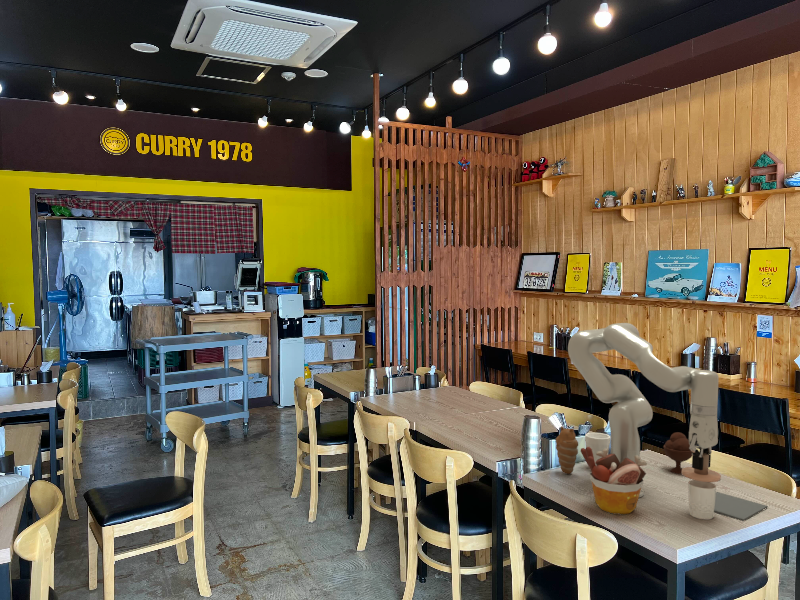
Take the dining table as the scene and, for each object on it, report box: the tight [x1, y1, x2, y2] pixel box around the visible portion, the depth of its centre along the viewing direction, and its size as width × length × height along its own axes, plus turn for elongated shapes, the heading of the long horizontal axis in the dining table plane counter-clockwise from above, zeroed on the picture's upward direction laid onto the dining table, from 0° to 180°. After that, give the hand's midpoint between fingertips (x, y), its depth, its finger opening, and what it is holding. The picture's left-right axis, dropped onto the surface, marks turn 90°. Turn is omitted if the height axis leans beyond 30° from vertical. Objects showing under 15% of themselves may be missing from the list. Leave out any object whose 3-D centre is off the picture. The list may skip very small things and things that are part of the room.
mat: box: [714, 491, 769, 522], centre depth 194 cm, size 18×16×1 cm
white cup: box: [687, 479, 717, 521], centre depth 186 cm, size 8×8×10 cm
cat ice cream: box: [555, 425, 579, 475], centre depth 225 cm, size 9×8×18 cm
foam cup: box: [584, 432, 611, 466], centre depth 232 cm, size 10×9×13 cm
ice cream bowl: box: [662, 431, 692, 475], centre depth 228 cm, size 11×11×15 cm
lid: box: [681, 453, 722, 483], centre depth 186 cm, size 11×11×7 cm
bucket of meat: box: [580, 447, 648, 515], centre depth 191 cm, size 20×16×20 cm
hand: (701, 466), depth 186 cm, fingers closed on lid, 4 cm apart
